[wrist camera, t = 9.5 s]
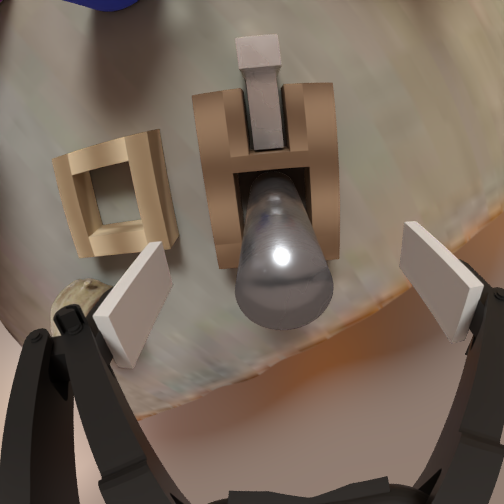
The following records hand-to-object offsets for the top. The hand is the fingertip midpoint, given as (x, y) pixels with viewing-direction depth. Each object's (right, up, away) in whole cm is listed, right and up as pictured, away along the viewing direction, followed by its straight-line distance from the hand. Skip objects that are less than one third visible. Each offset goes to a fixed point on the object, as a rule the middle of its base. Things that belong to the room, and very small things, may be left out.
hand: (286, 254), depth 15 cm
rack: (-14, +6, +10) cm, 18 cm away
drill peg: (0, +5, +10) cm, 11 cm away
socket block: (0, +7, +9) cm, 11 cm away
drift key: (-1, +12, +6) cm, 14 cm away
